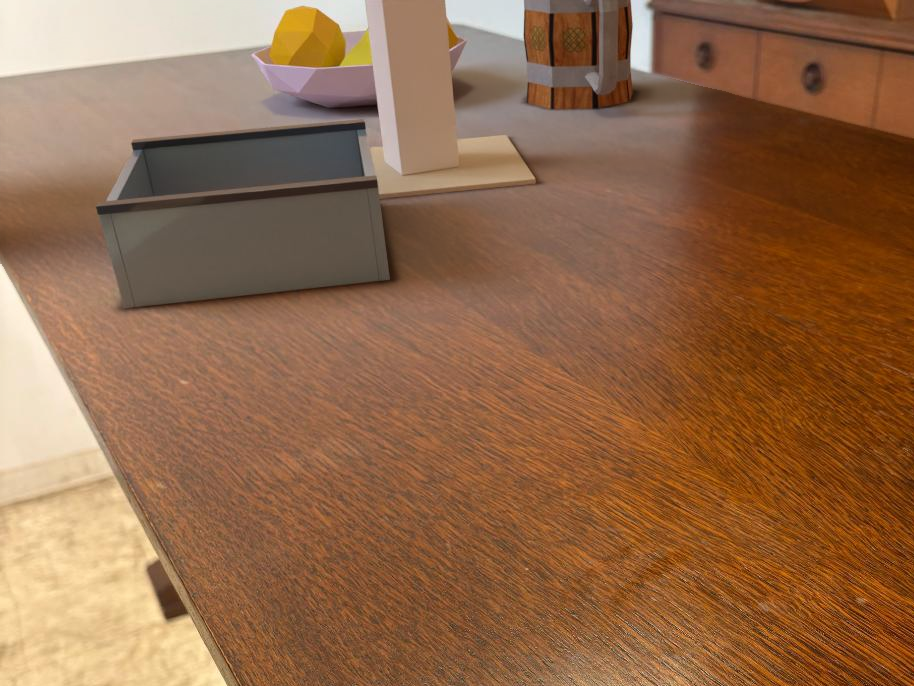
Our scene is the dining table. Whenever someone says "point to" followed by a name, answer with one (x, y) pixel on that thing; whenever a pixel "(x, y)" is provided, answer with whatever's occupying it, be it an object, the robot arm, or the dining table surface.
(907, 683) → the dining table surface
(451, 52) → the fruit bowl
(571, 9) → the mug
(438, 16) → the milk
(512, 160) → the mat
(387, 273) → the gray open box
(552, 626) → the dining table surface
